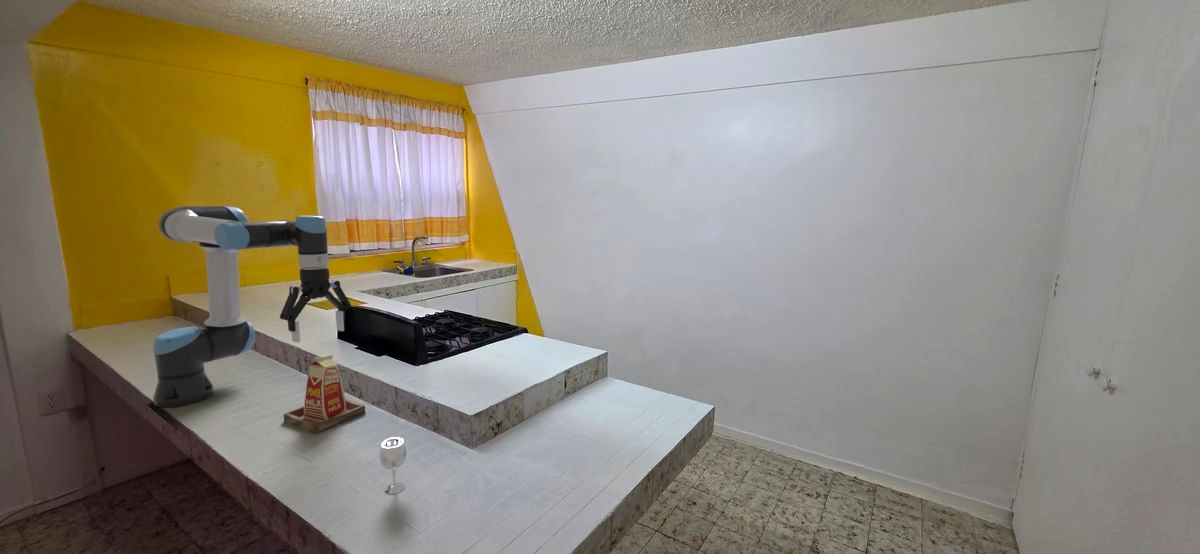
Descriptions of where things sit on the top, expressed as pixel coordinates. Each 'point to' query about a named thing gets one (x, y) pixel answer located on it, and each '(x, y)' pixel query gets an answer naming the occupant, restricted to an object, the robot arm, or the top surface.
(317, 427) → the tray
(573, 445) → the top surface
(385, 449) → the wineglass
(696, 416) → the top surface
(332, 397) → the milk carton
